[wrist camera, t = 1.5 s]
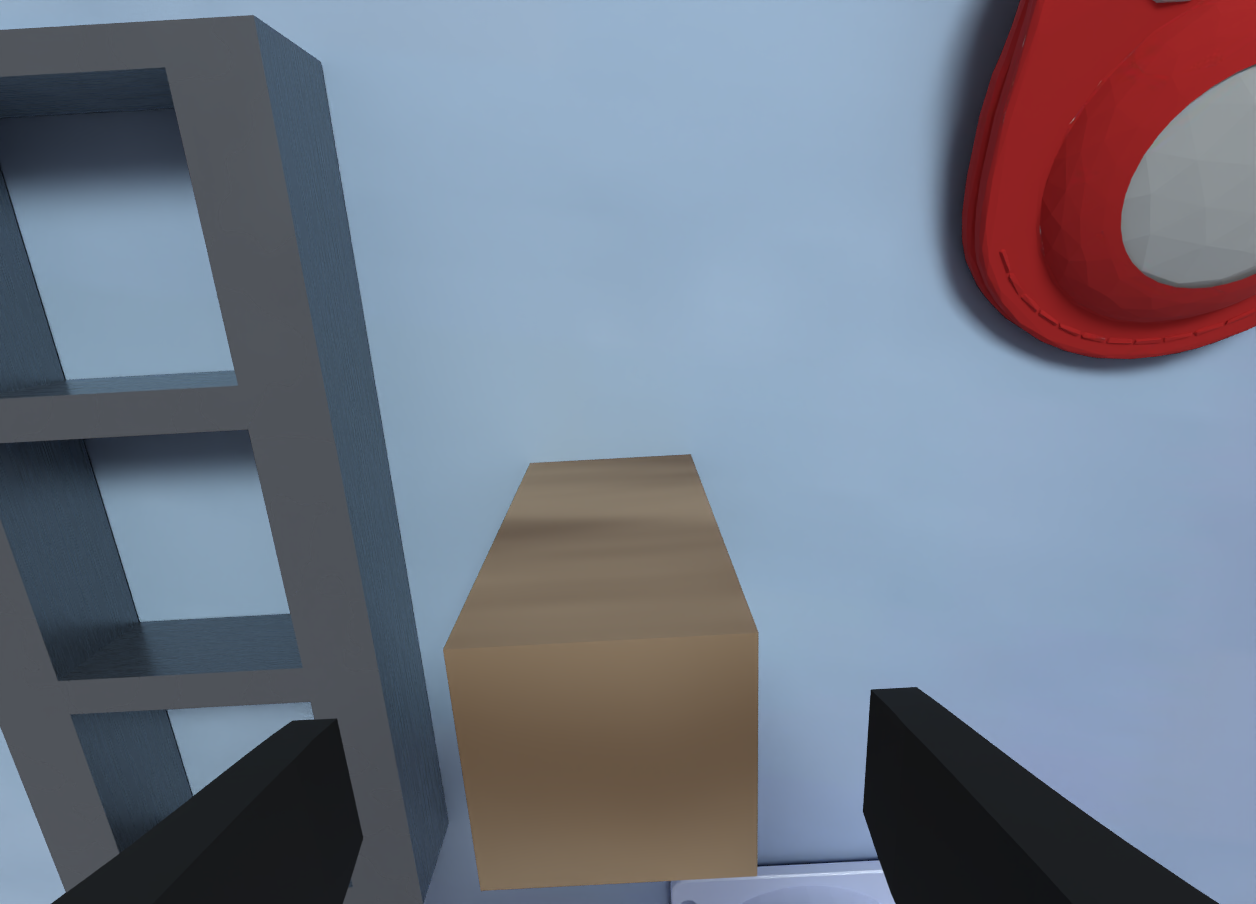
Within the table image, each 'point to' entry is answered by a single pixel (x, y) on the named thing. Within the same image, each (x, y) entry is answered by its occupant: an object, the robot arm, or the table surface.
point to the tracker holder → (1119, 175)
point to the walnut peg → (607, 684)
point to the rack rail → (204, 402)
